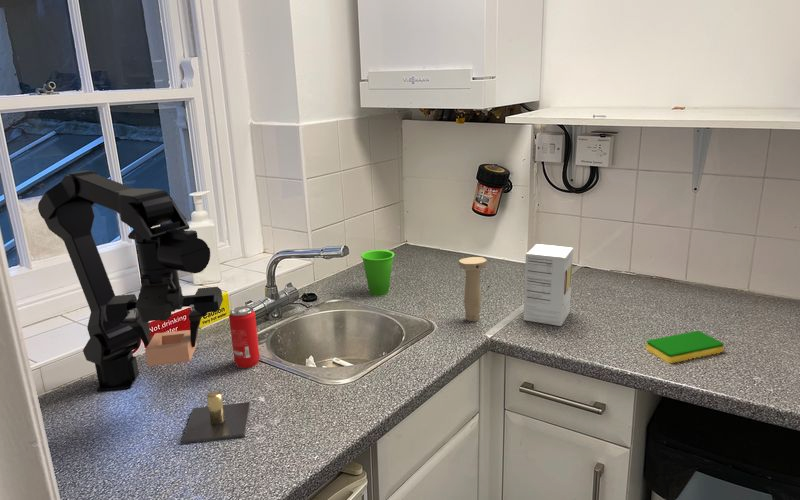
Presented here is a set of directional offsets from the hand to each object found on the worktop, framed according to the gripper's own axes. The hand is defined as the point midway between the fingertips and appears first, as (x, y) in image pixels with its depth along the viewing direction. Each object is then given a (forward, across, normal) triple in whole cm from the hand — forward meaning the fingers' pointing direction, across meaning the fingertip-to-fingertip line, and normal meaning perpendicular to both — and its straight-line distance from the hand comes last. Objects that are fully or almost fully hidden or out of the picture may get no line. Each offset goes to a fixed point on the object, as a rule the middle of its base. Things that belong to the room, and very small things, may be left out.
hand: (172, 348), depth 106 cm
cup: (+12, +42, +50) cm, 67 cm away
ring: (+1, 0, 0) cm, 1 cm away
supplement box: (+13, +80, +25) cm, 85 cm away
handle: (+13, +62, +27) cm, 69 cm away
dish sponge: (+14, +101, +2) cm, 102 cm away
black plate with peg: (+12, +7, -7) cm, 16 cm away
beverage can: (+12, +10, +15) cm, 22 cm away
